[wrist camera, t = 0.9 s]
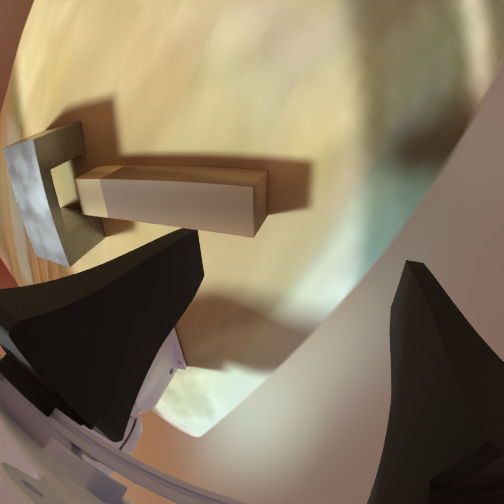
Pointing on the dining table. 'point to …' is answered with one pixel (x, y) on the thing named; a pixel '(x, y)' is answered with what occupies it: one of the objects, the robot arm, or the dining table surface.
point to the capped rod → (178, 196)
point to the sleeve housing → (51, 195)
